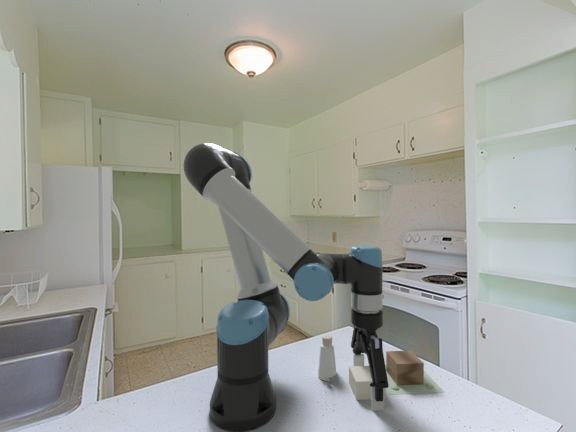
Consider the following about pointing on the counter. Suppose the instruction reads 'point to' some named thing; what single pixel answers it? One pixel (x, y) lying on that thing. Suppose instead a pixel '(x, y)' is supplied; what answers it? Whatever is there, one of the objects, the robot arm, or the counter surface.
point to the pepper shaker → (327, 359)
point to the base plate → (413, 386)
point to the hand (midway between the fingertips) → (367, 394)
